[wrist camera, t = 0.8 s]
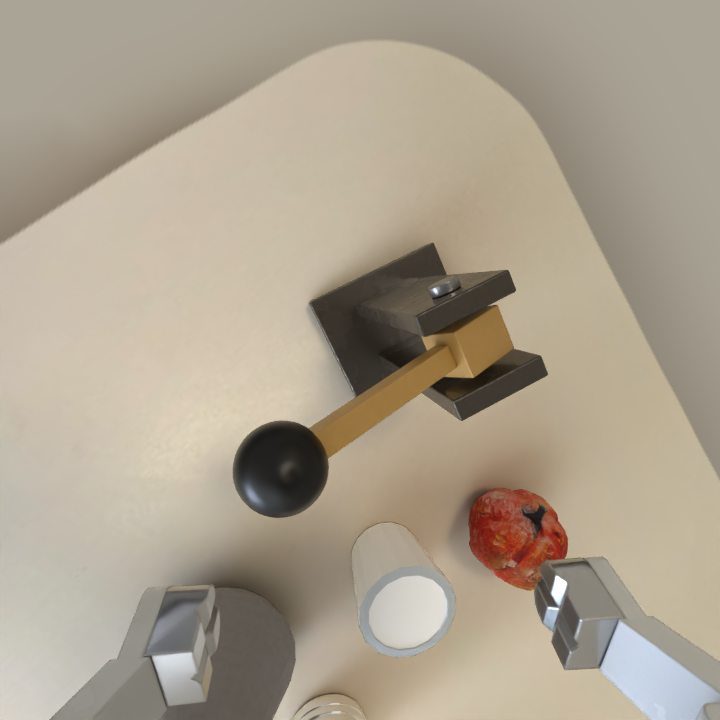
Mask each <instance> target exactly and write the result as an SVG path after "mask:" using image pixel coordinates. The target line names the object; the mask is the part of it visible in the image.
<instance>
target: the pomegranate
mask: <svg viewBox="0 0 720 720" xmlns="http://www.w3.org/2000/svg"><path fill="white" fill-rule="evenodd" d="M469 528H470V537H471V539H470V542H469V545H470V548H471V550H472V552H473V554H474V555H475V557H476V558H477V559H478V560H479V561H480V562H482V563H483V564H484V565H485V566H486V567H487V568H489V569H490V571H491V572H492V573H493V574H495V575H496V576H498V578H501V579H502V580H504V581H505V582H507V583H509V584H511V585H513V586H515V587H517V588H521V589H524V590H535V586H536V583H537V582H538V581H539V580H540V579H541V578H542V576H541V574H540V572H539V570H540V566H541V563H542V562H544V561H547V560H558V559H565V557H566V554H567V549H568V538H567V536H566V533H565V530H564V528H563V527H562V526H561V524H560V523H559V522H558V517H557V514H556V512H555V511H554V510H553V508H552V507H551V506H550V505H549V504H548V503H547V502H546V501H545V500H544V499H543V498H542V497H540V496H538V495H536V494H534V493H531V492H529V491H526V490H522V489H519V490H514V491H511V490H508V489H504V488H495V489H493V490H491V491H489V492H487V493H485V494H484V495H482V496H480V497H479V498H478V499H477V500H476V501H475V502H474V504H473V506H472V508H471V510H470V515H469Z"/></svg>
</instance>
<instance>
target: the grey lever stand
mask: <svg viewBox="0 0 720 720" xmlns="http://www.w3.org/2000/svg"><path fill="white" fill-rule="evenodd" d="M515 291H516V288H515V286H514V283H513V281H512V278H511V275H510V273H509V271H508V270H500V271H488V272H477V273H466V274H454V275H446V272H445V270H444V267H443V265H442V262H441V260H440V258H439V255H438V253H437V250H436V248H435V245H434V243H431V244H428V245H425V246H423V247H421V248H419V249H417V250H415V251H413V252H411V253H409V254H407V255H405V256H403V257H401V258H399V259H397V260H394V261H392V262H390V263H388V264H386V265H384V266H382V267H380V268H378V269H376V270H374V271H372V272H370V273H368V274H366V275H364V276H361V277H359V278H357V279H355V280H353V281H351V282H349V283H347V284H345V285H343V286H341V287H339V288H337V289H335V290H333V291H331V292H328V293H326V294H324V295H322V296H320V297H318V298H316V299H314V300H312V301H310V302H309V304H310V306H311V308H312V310H313V312H314V314H315V316H316V318H317V321H318V323H319V325H320V327H321V329H322V331H323V333H324V335H325V337H326V339H327V341H328V343H329V345H330V347H331V349H332V351H333V353H334V355H335V357H336V359H337V361H338V363H339V365H340V367H341V369H342V371H343V373H344V375H345V378H346V380H347V382H348V384H349V386H350V388H351V390H352V392H353V394H354V396H355V397H357V396H359V395H360V394H362V393H363V392H365V391H367V390H368V389H370V388H371V387H373V386H374V385H376V384H377V383H379V382H380V381H382V380H383V379H385V378H386V377H388V376H389V375H391V374H392V373H394V372H396V371H397V370H399V369H400V368H402V367H403V366H405V365H406V364H408V363H409V362H411V361H412V360H414V359H415V358H417V357H418V356H420V355H421V354H423V353H425V352H426V351H427V349H426V347H425V344H424V342H423V340H422V338H421V336H423V337H427V336H429V335H431V334H433V333H435V332H437V331H439V330H441V329H443V328H445V327H447V326H449V325H451V324H453V323H455V322H457V321H458V320H460V319H462V318H464V317H466V316H468V315H470V314H472V313H474V312H476V311H478V310H480V309H482V308H484V307H486V306H488V305H490V304H492V303H494V302H496V301H498V300H500V299H502V298H504V297H506V296H508V295H510V294H512V293H514V292H515ZM547 375H548V373H547V370H546V368H545V365H544V362H543V360H542V357H541V356H540V355H536V354H532V353H528V352H524V351H520V350H516V349H512V350H511V351H510V352H508V353H507V354H506V355H504V356H503V357H501V358H500V359H499V360H497V361H496V362H495V363H493V364H492V365H491V366H489V367H488V368H487V369H485V370H484V371H482V372H481V373H480V374H478V375H477V376H476V377H474V378H458V377H443V378H441V379H440V380H438V381H437V382H436V383H434V384H433V385H431V386H430V387H428V388H427V389H426V390H424V391H423V392H421V393H423V394H424V395H425V396H427V397H428V398H430V399H431V400H432V401H434V402H435V403H437V404H438V405H439V406H441V407H442V408H444V409H445V410H447V411H448V412H449V413H451V414H452V415H454V416H455V417H456V418H458V419H459V420H461V421H463V420H465V419H467V418H468V417H470V416H472V415H474V414H476V413H478V412H480V411H482V410H483V409H485V408H487V407H489V406H491V405H493V404H495V403H497V402H498V401H500V400H502V399H504V398H506V397H508V396H510V395H512V394H513V393H515V392H517V391H519V390H521V389H523V388H525V387H527V386H528V385H530V384H532V383H534V382H536V381H538V380H540V379H542V378H543V377H545V376H547Z"/></svg>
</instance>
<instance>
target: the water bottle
mask: <svg viewBox="0 0 720 720" xmlns="http://www.w3.org/2000/svg"><path fill="white" fill-rule="evenodd" d="M293 720H366V717H365V715H364V712H363V710H362V709H361V707H360V706H359V705H358V704H357V703H356V702H355V701H354V700H353V699H351V698H349V697H347V696H344V695H340V694H327V695H322V696H319V697H317V698H314V699H312V700H311V701H309V702H308V703H306V704H305V705H304V706H303V707H302V708H301V709H300V710H299V711H298V712H297V714H296V715H295V717H294V718H293Z"/></svg>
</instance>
